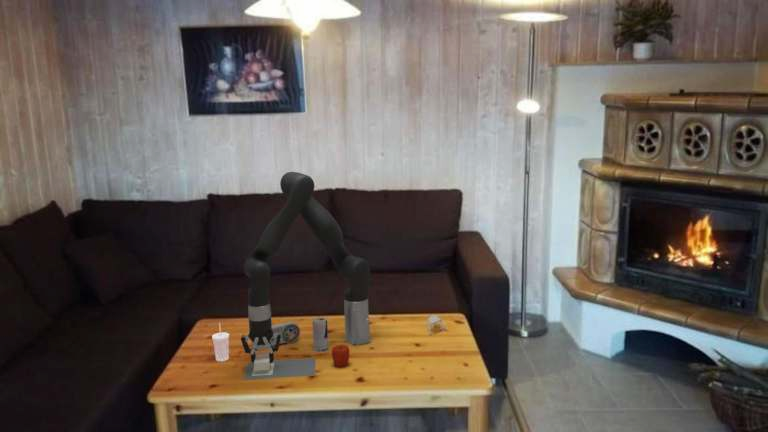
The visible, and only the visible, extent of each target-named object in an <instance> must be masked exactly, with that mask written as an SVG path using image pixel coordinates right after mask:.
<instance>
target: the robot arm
mask: <svg viewBox="0 0 768 432" xmlns="http://www.w3.org/2000/svg"><path fill="white" fill-rule="evenodd" d="M279 185H280V190H281V192H282V193H283V195H284V196H285V197H286V199H287V200H286V202H285V204H284V206H283V207H282V209H281V210H280V211H279V212H278V214H277V215H275V217H274V218H272V220H271V221H270V222H269V223H268V224H267V226H266V227H265V229H264V231H263V233H262V235H261V237H260V240H258V243H257V245H256V246H255V248H254V249H252V251H251V252H250V254H249V255H248V257H247V258H246V260H245V262H244V265H243V272H244V275H245V276H247V277H248V279H250V287H249V288H248V290H247V302H248V310H247V314H248V328H249V329H248V330H249V332H248V334H246V335H245V334H242V335H241V337H240V341H241V343H242V347H243V350H244V353H245V354H250V362H252V363H253V364H254V360H255V357H256V353H257V352H256V350H257V349H256V346H259V345H266V347H267V348H266V349H267V350H268V352H269V358H270V363H272V362H273V361H275V357H274V356H275V355H274V353H275V352H278V351H279V347H280V344H279V343H280V338H281V333H273V331H272V326H273V325H272V312H271V311H272V309H271V304H270V293H269V290H270V284H271V277H272V275H271V269H270V267H269V266H270V265H268V263H267V262H268V261H269V259H270V258H271V257H275V256H276V255H277V254H278V251H279V250H280V247H281V245H282V243H283V242H284V240H285V237H286V236H287V233H288V232H289V230H290V229H291V226H292V225H293V223H294V222H295V220H296V219H297V217H298V216H299V215H300V216H301V217H302V219H303V220H304V222H305V224H306V225H307V227H309V228H310V231H311V232H312V234H313V235H314V237H315V238H316V240H317V241H318V242H319V243H320V246H322V247H323V250H325V252H326V253H327V255H328V256H329V257H330V259H331V260H332V262H333V265H334V267H335V268H336V270H337V272H338V274H339V275H340V277H341V278H343V279H344V280H346V281H350V287H349V288H348V289H345V290H344V292H343V305H344V306H343V307H344V334H345V336H344V337H345V343H348V344H350V345H353V346H361V345H366V344H369V343H371V339H370V338H371V337H370V335H371V333H370V330H371V329H370V316H369V292H370V289H371V268H370V263H369V262H368V260H366V259H364V258H361V257H357V256H355V255H353V254H351V253H350V252H349V250H348V248H347V247H346V246H345V243H344V238H343V232H342V229H341V227H340V225H339V224H338V222H337V221H336V219H335V218H334V216H332V214H331V213H330V212H329V211H328V210H327V208H325V207H324V206H322V205H321V203H319V202H318V201H317V200H316V199H315V198H314V196H313V193H314V191H315V182H314V180H313V179H312V177H311V176H309V175H307V174H305V173H301V172H297V171H289V172H288V171H287V172H286V173H285V174H283V175H282V177H281V178H280V184H279ZM273 336H274V338H275V340H276V345H273V346H272V344H271V341H270V340H271V338H272V337H273ZM249 340H250V342H251V341H252V342H253V346H252V347H251V348H250V345H249V343H248V341H249Z"/></svg>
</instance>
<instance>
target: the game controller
mask: <svg viewBox="0 0 768 432" xmlns="http://www.w3.org/2000/svg"><path fill="white" fill-rule="evenodd" d="M272 331H273V333H281V338H280V343H279V345H280V344H285V343H286V344H294V343H296V341H297V340H299V338H300V336H301V329H300V327H299V325H298V324H297V323H295V322H293V321H287V322H283V323H279V324H276V325H275V324H274V325H272ZM270 341H271V344H272V346H273V347H274V346H275V345H276V340H275V338H274V336H273V337H272V338H271V340H270ZM250 343H251V345H252V346H253V342H252V341H251V340H250ZM264 349H268V348H267V347H266V345H259V346H256V349H255V350H256V351H260V350H264Z"/></svg>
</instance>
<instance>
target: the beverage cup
mask: <svg viewBox="0 0 768 432" xmlns="http://www.w3.org/2000/svg"><path fill="white" fill-rule="evenodd" d="M218 327H219V328H218V329H219V332H217V333H214V334H212V336H211V338H212V342H213V347H214V349H213V350H214V355H215V356H214V357H215V360H216V361H217V362H225V361H227V360H229V357H230V355H229V354H230V353H229V351H230V350H229V349H230V347H229V344H230V342H229V339H230V333H229V332H222V330H221V322H218Z"/></svg>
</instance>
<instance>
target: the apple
mask: <svg viewBox="0 0 768 432" xmlns="http://www.w3.org/2000/svg"><path fill="white" fill-rule="evenodd" d="M331 357H332V361H333V364H334V366H335V367H337V368H342V367H346V366H347V365H348V362H349V360H350V348H349V346H348V345H346V344H339V345H335V346H333V347H332V348H331Z"/></svg>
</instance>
